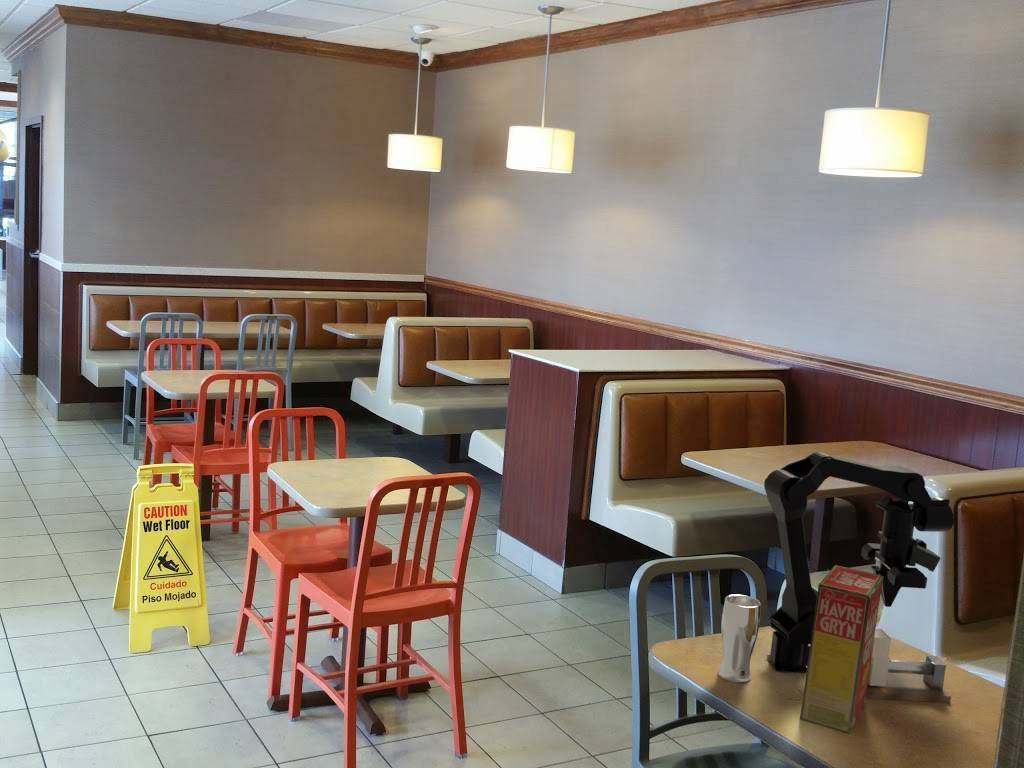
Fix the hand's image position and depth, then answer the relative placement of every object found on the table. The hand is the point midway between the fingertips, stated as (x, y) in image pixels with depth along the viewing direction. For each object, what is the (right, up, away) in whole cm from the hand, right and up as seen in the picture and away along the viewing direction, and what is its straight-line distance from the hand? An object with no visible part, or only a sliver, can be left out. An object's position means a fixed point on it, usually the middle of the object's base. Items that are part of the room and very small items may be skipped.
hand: (887, 606), depth 204 cm
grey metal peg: (-2, -12, -10) cm, 16 cm away
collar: (-7, -12, -10) cm, 17 cm away
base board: (-3, -14, -10) cm, 17 cm away
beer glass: (-32, -12, -9) cm, 36 cm away
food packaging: (-17, -15, -21) cm, 31 cm away
